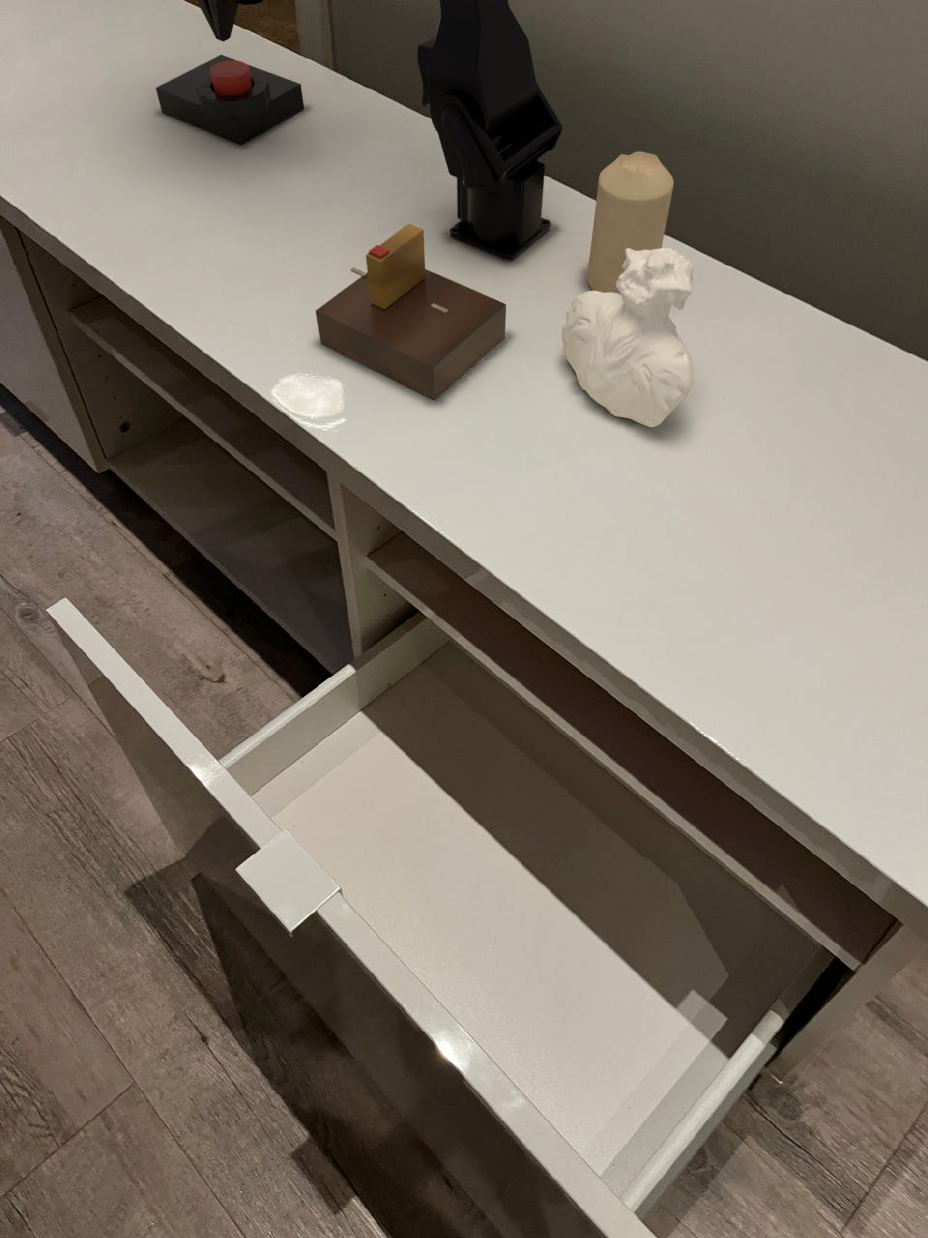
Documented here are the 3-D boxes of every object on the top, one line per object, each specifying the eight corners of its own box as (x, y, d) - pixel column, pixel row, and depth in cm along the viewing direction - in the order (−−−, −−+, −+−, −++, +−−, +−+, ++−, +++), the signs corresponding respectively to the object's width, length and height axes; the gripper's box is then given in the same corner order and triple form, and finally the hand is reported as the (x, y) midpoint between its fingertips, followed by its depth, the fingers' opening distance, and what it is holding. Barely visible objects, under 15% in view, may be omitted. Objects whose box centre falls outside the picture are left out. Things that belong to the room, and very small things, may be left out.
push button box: (310, 111, 92) (304, 68, 89) (241, 151, 88) (232, 107, 84) (226, 78, 96) (217, 36, 93) (156, 115, 92) (144, 72, 88)
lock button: (260, 86, 87) (256, 66, 86) (233, 101, 86) (229, 81, 84) (233, 75, 89) (229, 56, 87) (205, 90, 87) (201, 70, 86)
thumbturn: (411, 271, 71) (408, 219, 68) (426, 277, 70) (424, 225, 67) (370, 303, 69) (365, 251, 65) (384, 310, 68) (380, 258, 65)
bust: (677, 455, 66) (779, 316, 62) (623, 441, 61) (730, 286, 56) (572, 367, 72) (657, 233, 67) (514, 346, 66) (602, 198, 62)
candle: (632, 310, 73) (652, 188, 65) (573, 285, 75) (587, 163, 67) (667, 277, 76) (691, 156, 67) (609, 254, 77) (626, 133, 69)
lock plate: (505, 337, 71) (506, 301, 68) (434, 400, 67) (433, 365, 64) (383, 282, 75) (380, 246, 73) (309, 338, 71) (303, 303, 68)
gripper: (18, -179, 71) (86, 43, 83) (188, -132, 64) (234, 102, 77) (129, -212, 76) (177, 2, 88) (297, -172, 69) (323, 53, 82)
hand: (223, 38), depth 84 cm, fingers closed
